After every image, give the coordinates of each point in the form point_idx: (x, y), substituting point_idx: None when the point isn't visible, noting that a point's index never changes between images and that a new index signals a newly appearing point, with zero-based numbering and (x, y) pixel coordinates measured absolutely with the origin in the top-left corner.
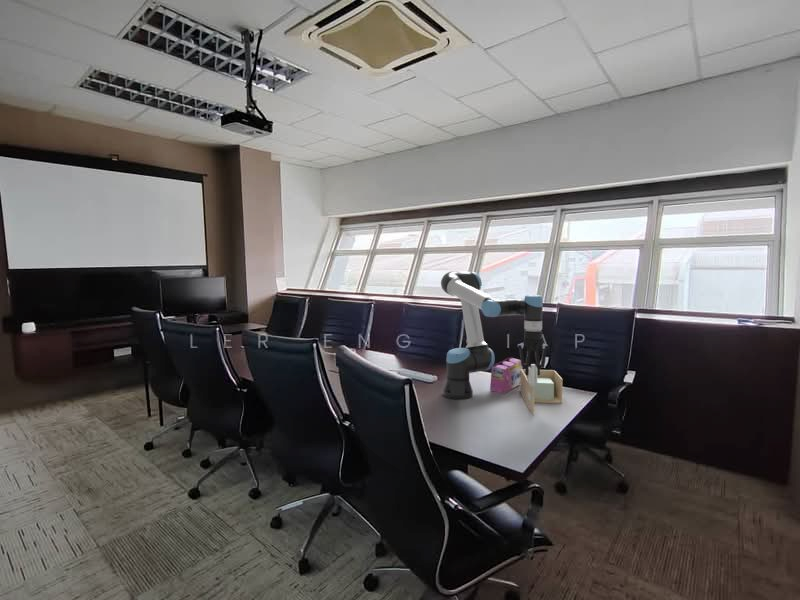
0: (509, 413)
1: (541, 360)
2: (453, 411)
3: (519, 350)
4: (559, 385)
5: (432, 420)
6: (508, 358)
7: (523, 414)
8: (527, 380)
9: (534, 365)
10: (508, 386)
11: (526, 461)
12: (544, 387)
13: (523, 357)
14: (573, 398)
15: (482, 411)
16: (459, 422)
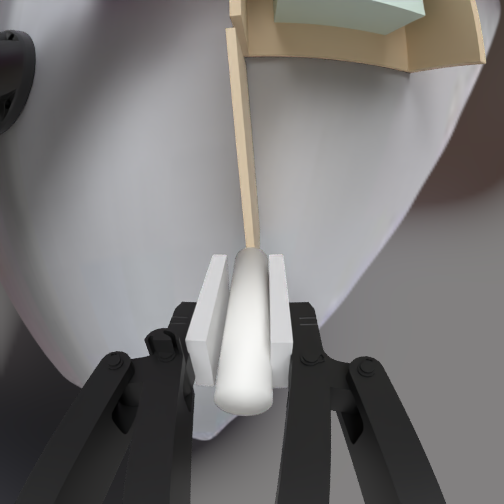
0: (162, 226)
1: (363, 431)
2: (19, 243)
3: (20, 497)
4: (445, 32)
5: (16, 304)
6: None
7: (216, 227)
8: (232, 97)
9: (255, 412)
10: None
11: (213, 429)
12: (363, 9)
13: (111, 475)
14: None
15: (76, 225)
16: (56, 312)
